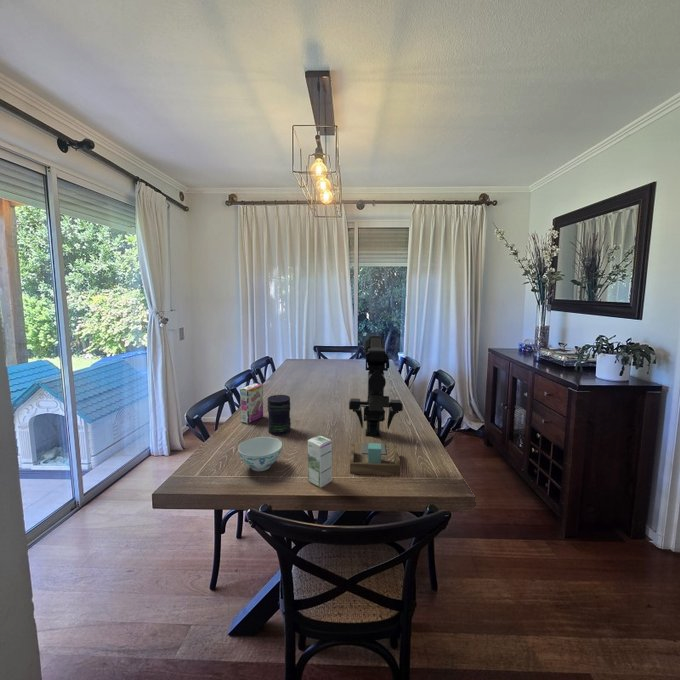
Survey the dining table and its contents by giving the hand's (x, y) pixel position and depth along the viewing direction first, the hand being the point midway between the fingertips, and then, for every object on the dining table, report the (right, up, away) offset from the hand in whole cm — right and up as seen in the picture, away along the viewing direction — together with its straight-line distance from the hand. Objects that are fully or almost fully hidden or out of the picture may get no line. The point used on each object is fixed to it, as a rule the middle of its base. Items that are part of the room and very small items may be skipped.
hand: (375, 428), depth 127 cm
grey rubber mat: (+1, -11, +12) cm, 16 cm away
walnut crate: (0, -13, +1) cm, 13 cm away
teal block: (0, -13, +2) cm, 13 cm away
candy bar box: (-54, -7, +42) cm, 69 cm away
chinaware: (-40, -13, -2) cm, 43 cm away
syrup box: (-19, -15, -11) cm, 27 cm away
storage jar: (-39, -9, +29) cm, 49 cm away
